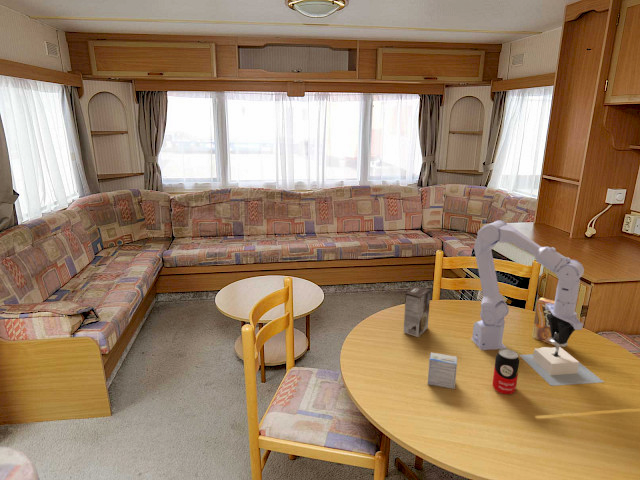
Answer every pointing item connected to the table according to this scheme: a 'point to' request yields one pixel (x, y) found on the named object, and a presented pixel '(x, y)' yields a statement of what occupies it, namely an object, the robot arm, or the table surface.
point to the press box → (555, 361)
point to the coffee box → (416, 311)
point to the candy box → (542, 321)
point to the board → (564, 379)
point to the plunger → (557, 342)
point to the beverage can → (506, 371)
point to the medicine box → (442, 370)
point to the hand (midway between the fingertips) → (558, 339)
